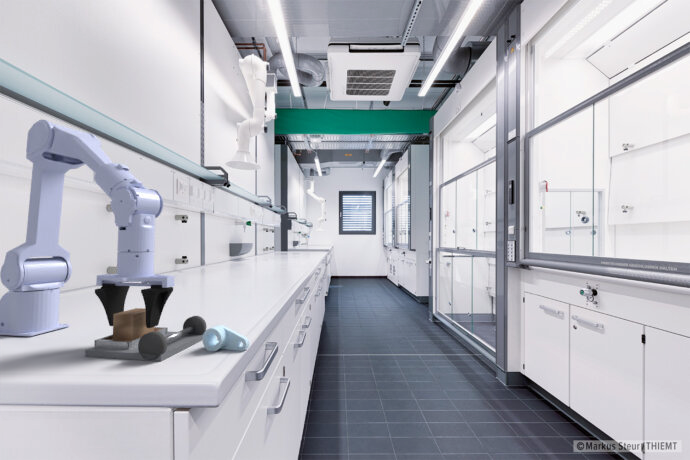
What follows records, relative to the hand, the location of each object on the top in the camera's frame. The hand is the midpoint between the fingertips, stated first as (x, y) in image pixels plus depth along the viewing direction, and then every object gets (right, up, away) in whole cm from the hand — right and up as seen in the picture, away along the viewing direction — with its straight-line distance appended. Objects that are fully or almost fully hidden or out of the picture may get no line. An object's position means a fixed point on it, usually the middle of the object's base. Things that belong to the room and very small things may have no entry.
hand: (133, 325), depth 57 cm
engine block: (0, -2, 0) cm, 2 cm away
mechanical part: (+18, -4, -2) cm, 18 cm away
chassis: (+3, -4, -1) cm, 5 cm away
